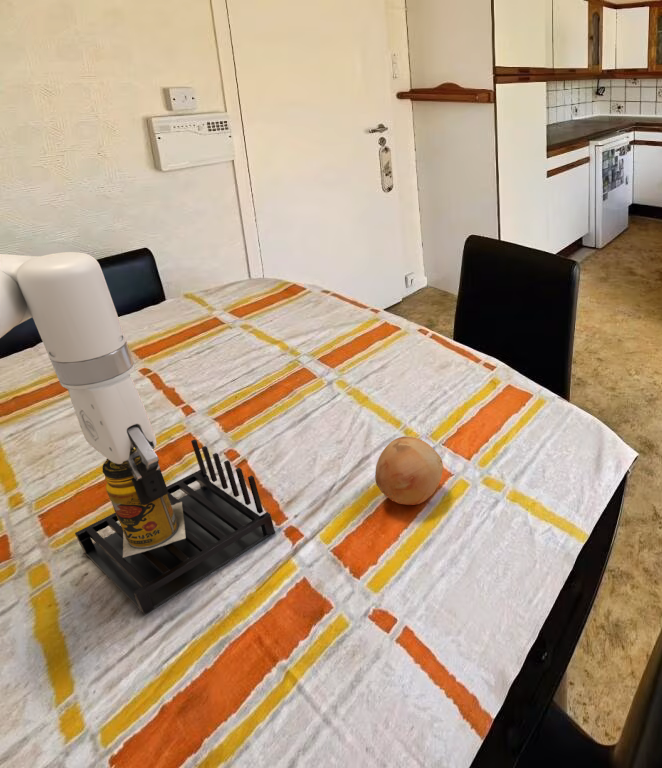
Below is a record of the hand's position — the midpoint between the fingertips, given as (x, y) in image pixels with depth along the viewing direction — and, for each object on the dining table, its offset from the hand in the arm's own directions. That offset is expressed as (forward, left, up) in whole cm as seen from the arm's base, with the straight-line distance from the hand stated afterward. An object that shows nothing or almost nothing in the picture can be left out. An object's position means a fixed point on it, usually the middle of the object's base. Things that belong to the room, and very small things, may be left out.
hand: (141, 487), depth 80 cm
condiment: (0, +1, -7) cm, 8 cm away
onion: (+28, -19, -11) cm, 36 cm away
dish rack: (+2, 0, -11) cm, 11 cm away
